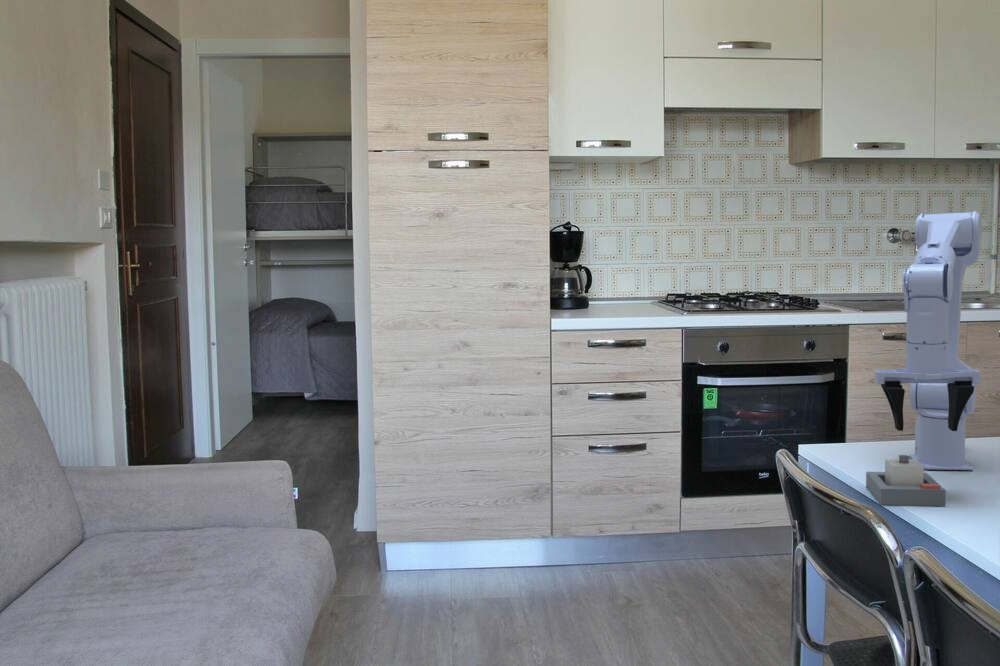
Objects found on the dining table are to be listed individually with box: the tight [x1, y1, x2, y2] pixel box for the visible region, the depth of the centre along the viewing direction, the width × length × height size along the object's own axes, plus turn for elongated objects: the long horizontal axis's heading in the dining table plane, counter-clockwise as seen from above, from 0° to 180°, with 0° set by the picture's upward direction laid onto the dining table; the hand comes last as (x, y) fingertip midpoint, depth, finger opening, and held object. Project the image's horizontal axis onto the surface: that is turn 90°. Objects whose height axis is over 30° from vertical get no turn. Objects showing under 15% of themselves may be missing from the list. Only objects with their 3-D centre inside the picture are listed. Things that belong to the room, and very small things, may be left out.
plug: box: [884, 454, 925, 486], centre depth 135 cm, size 4×4×6 cm
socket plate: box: [865, 471, 947, 507], centre depth 135 cm, size 10×9×3 cm
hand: (925, 429), depth 134 cm, fingers open, 7 cm apart
